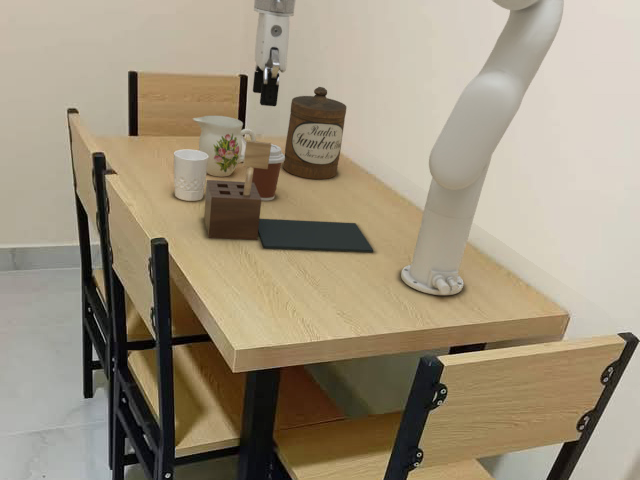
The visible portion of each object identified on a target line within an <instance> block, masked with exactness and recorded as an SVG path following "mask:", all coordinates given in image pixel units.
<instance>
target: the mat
mask: <svg viewBox="0 0 640 480" xmlns="http://www.w3.org/2000/svg"><path fill="white" fill-rule="evenodd" d="M258 237H259V239H260V241H261V244H262V247H263V249H268V250H269V249H270V250H271V249H272V250H296V251H297V250H298V251H299V250H300V251H321V252H322V251H323V252H325V251H326V252H346V253H347V252H351V253H352V252H353V253H374V249H373V247H372V245H371V244H370V243H369V241H368V239H367V238H366V237H365V235H364V234H363V232H362V230H361V229H360V228H359V226H358V225H357V223H356V222H342V221H341V222H339V221H338V222H337V221H316V220H299V219H297V220H295V219H275V218H274V219H273V218H259V227H258Z"/></svg>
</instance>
